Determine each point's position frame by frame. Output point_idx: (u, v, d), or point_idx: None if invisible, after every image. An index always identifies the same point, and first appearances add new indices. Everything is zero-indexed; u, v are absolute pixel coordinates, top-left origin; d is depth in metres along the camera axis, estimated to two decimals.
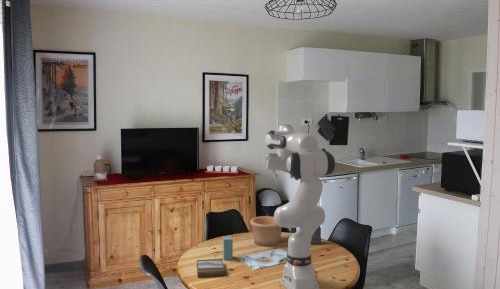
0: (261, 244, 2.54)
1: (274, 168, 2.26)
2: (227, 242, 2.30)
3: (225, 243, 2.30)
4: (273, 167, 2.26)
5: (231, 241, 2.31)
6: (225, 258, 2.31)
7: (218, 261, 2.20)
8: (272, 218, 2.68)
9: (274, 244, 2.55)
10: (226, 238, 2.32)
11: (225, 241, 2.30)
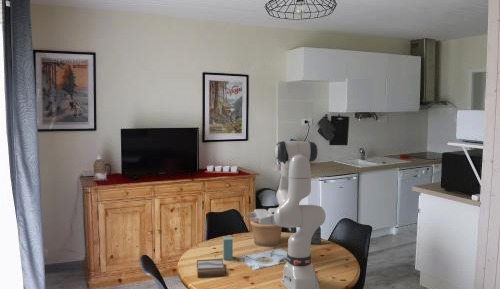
0: (261, 244, 2.54)
1: (256, 210, 2.40)
2: (227, 242, 2.30)
3: (225, 243, 2.30)
4: (256, 210, 2.40)
5: (231, 241, 2.31)
6: (225, 258, 2.31)
7: (218, 261, 2.20)
8: None
9: (274, 244, 2.55)
10: (226, 238, 2.32)
11: (225, 241, 2.30)
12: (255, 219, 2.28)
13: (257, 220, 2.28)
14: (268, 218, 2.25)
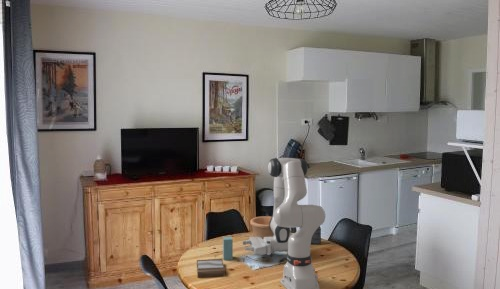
0: None
1: (251, 238, 2.41)
2: (227, 242, 2.30)
3: (225, 243, 2.30)
4: (252, 238, 2.42)
5: (231, 241, 2.31)
6: (225, 258, 2.31)
7: (218, 261, 2.20)
8: None
9: None
10: (226, 238, 2.32)
11: (225, 241, 2.30)
12: (250, 248, 2.29)
13: (252, 249, 2.29)
14: (263, 248, 2.26)
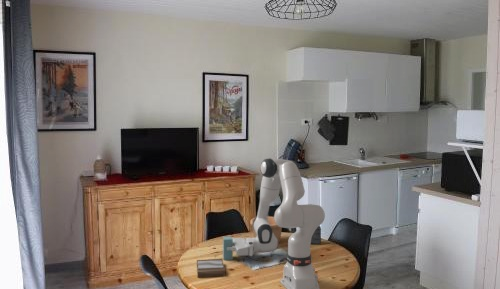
0: None
1: (234, 239, 2.39)
2: (227, 242, 2.30)
3: (225, 243, 2.30)
4: (235, 239, 2.40)
5: (231, 241, 2.31)
6: (225, 258, 2.31)
7: (218, 261, 2.20)
8: (272, 218, 2.68)
9: None
10: (226, 238, 2.32)
11: (225, 241, 2.30)
12: (232, 248, 2.29)
13: (234, 249, 2.29)
14: (245, 249, 2.25)
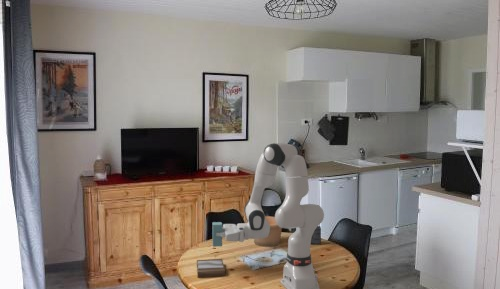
0: (261, 244, 2.54)
1: (224, 225, 2.27)
2: (216, 227, 2.18)
3: (214, 229, 2.18)
4: (225, 225, 2.28)
5: (221, 227, 2.19)
6: (214, 244, 2.19)
7: (218, 261, 2.20)
8: (272, 218, 2.68)
9: (274, 244, 2.55)
10: (215, 223, 2.20)
11: (214, 226, 2.18)
12: (221, 234, 2.17)
13: (223, 235, 2.17)
14: (235, 234, 2.13)
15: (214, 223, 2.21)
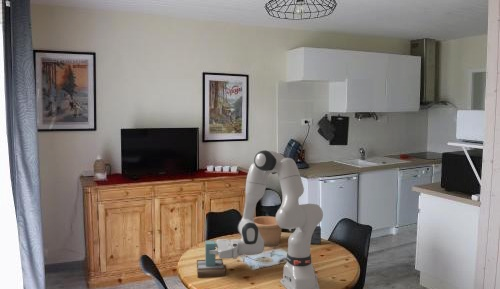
0: None
1: (218, 241, 2.22)
2: (209, 247, 2.12)
3: (207, 248, 2.12)
4: (218, 240, 2.22)
5: (214, 246, 2.13)
6: (207, 264, 2.13)
7: (218, 261, 2.20)
8: (272, 218, 2.68)
9: (274, 244, 2.55)
10: (208, 242, 2.14)
11: (207, 246, 2.12)
12: (215, 252, 2.09)
13: (217, 253, 2.09)
14: (228, 251, 2.07)
15: (207, 242, 2.15)
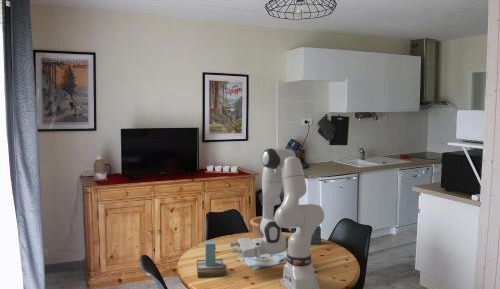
0: None
1: (240, 240, 2.23)
2: (209, 247, 2.12)
3: (207, 248, 2.12)
4: (240, 240, 2.24)
5: (214, 246, 2.13)
6: (207, 264, 2.13)
7: (218, 261, 2.20)
8: None
9: None
10: (208, 242, 2.14)
11: (207, 246, 2.12)
12: (238, 251, 2.11)
13: (240, 252, 2.11)
14: (252, 250, 2.09)
15: (207, 242, 2.15)
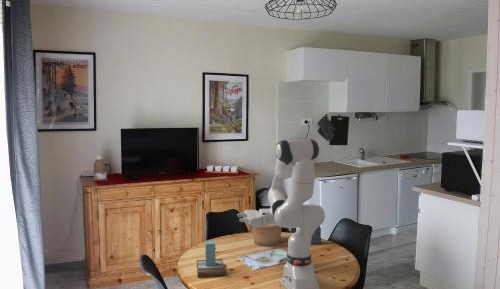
0: (261, 244, 2.54)
1: (246, 211, 2.31)
2: (209, 247, 2.12)
3: (207, 248, 2.12)
4: (247, 211, 2.31)
5: (214, 246, 2.13)
6: (207, 264, 2.13)
7: (218, 261, 2.20)
8: None
9: (274, 244, 2.55)
10: (208, 242, 2.14)
11: (207, 246, 2.12)
12: (245, 220, 2.19)
13: (247, 221, 2.18)
14: (258, 219, 2.16)
15: (207, 242, 2.15)
